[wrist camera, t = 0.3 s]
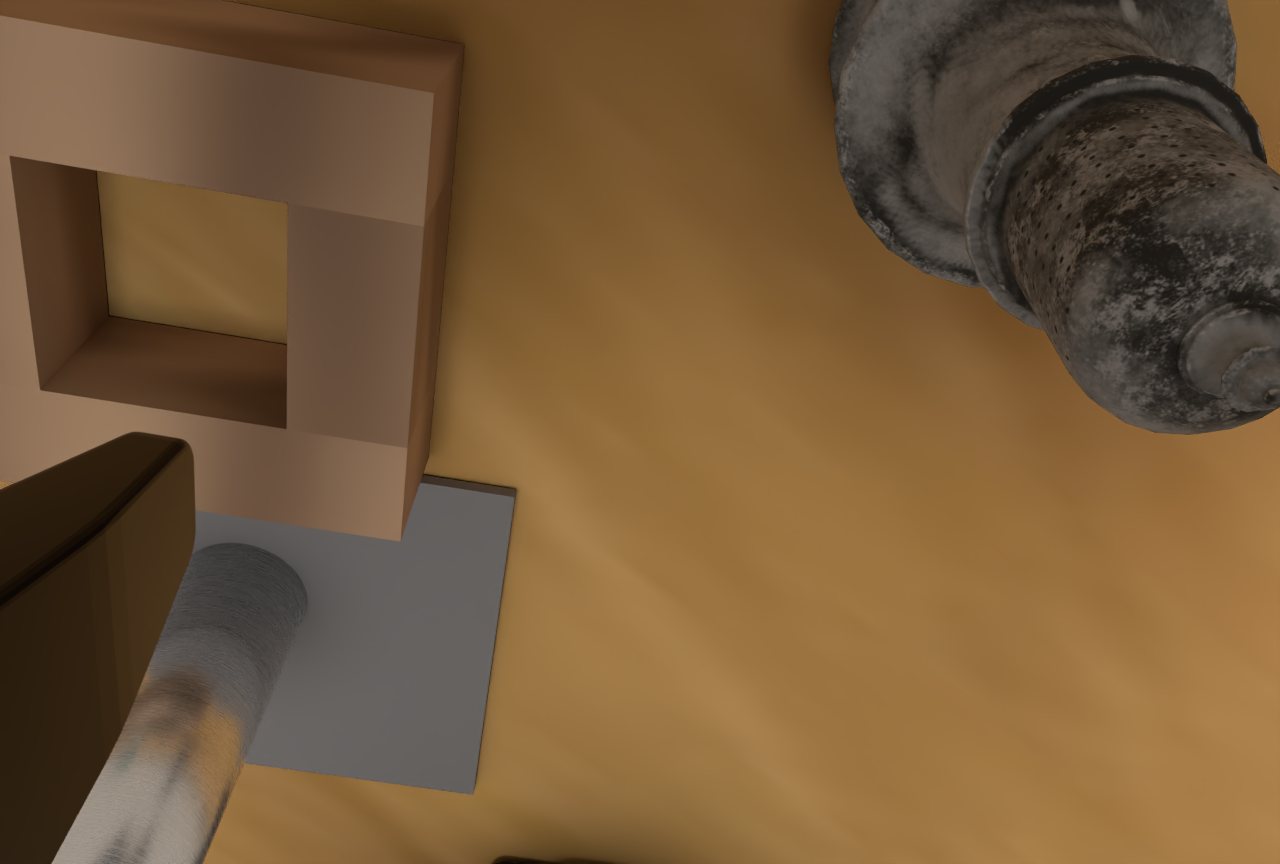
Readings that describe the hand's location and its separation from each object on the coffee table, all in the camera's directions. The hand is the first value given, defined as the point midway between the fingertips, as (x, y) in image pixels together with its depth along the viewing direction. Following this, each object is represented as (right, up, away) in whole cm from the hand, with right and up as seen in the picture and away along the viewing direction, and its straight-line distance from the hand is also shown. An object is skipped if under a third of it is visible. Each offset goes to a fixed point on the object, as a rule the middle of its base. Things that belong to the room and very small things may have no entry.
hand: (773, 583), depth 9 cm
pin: (-10, -3, +18) cm, 21 cm away
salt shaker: (+5, +8, +11) cm, 15 cm away
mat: (-10, -3, +19) cm, 22 cm away
